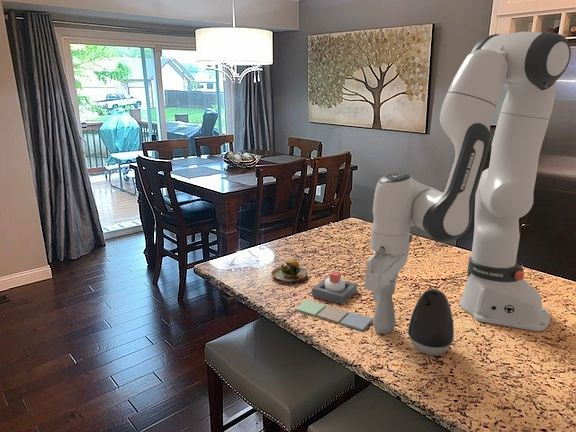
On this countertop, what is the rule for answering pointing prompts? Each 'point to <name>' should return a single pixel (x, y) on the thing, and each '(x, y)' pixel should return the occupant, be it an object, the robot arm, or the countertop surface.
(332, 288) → the dome
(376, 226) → the robot arm
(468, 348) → the countertop surface
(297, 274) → the bowl of food
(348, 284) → the button housing
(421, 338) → the dark grey egg device
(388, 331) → the salt shaker
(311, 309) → the track
